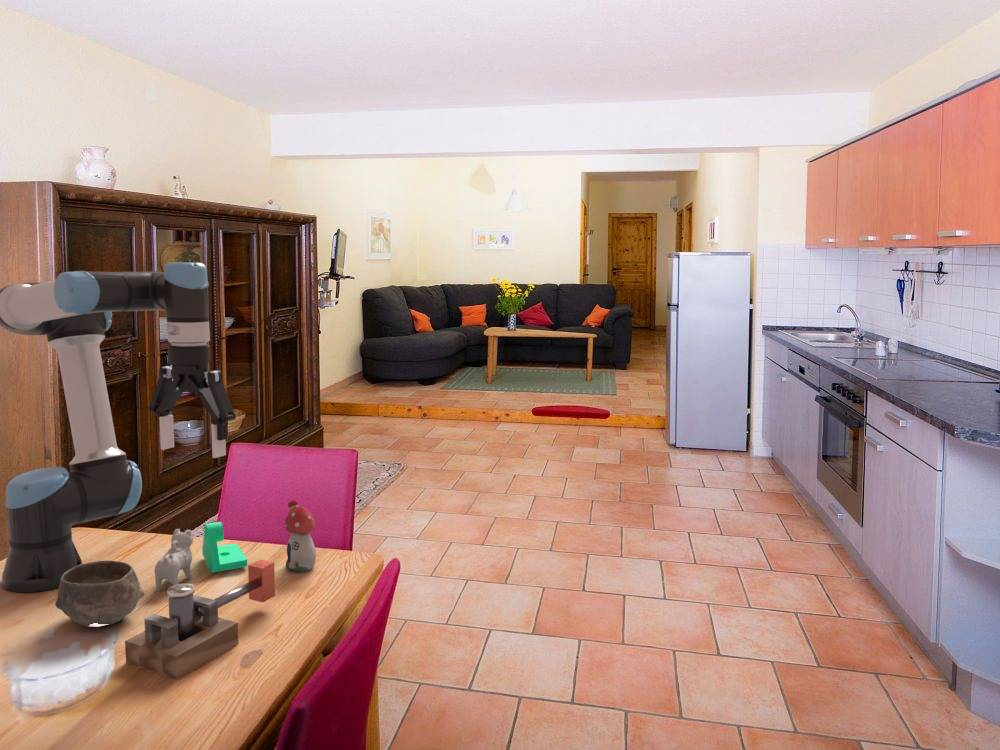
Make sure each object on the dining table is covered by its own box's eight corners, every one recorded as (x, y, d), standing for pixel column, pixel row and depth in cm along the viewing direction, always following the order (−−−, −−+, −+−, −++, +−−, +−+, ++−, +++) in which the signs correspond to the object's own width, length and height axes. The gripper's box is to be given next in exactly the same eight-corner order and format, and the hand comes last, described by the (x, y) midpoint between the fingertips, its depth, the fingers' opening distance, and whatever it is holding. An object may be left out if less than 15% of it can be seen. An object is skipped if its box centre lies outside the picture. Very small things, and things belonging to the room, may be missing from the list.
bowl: (87, 645, 141) (84, 592, 139) (41, 624, 149) (37, 573, 147) (157, 617, 153) (155, 568, 151) (111, 598, 161) (108, 551, 159)
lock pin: (193, 628, 143) (191, 591, 142) (261, 592, 159) (260, 559, 158) (207, 632, 141) (206, 595, 140) (275, 595, 157) (274, 562, 156)
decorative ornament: (283, 561, 182) (282, 498, 180) (312, 557, 185) (311, 495, 182) (288, 576, 174) (287, 510, 171) (318, 572, 176) (317, 507, 174)
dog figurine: (200, 570, 176) (199, 524, 175) (177, 593, 163) (175, 544, 162) (176, 569, 176) (175, 524, 175) (151, 593, 163) (149, 544, 162)
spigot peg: (164, 655, 138) (161, 590, 136) (183, 645, 142) (181, 581, 140) (182, 661, 136) (179, 595, 134) (202, 650, 140) (199, 586, 138)
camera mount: (248, 570, 177) (247, 526, 175) (213, 577, 173) (211, 532, 171) (236, 553, 187) (235, 511, 185) (202, 559, 183) (201, 516, 181)
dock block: (125, 662, 135) (123, 618, 134) (189, 629, 148) (188, 588, 146) (176, 679, 130) (174, 633, 129) (238, 643, 142) (236, 601, 141)
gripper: (126, 341, 152) (131, 448, 155) (223, 349, 141) (227, 464, 144) (157, 338, 159) (162, 441, 161) (253, 345, 148) (256, 455, 151)
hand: (192, 452), depth 153 cm, fingers open, 13 cm apart
